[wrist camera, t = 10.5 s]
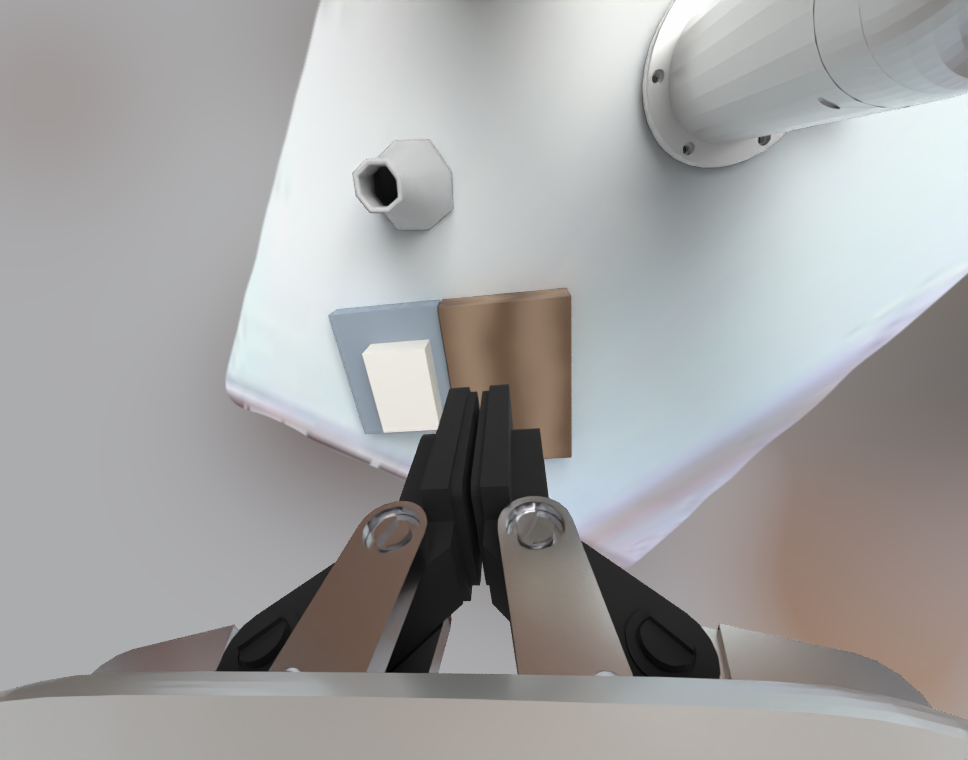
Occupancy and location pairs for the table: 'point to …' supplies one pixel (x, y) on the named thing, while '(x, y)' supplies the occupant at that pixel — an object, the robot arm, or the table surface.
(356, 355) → the mat
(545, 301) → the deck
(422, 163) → the flask
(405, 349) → the tile
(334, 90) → the table surface
